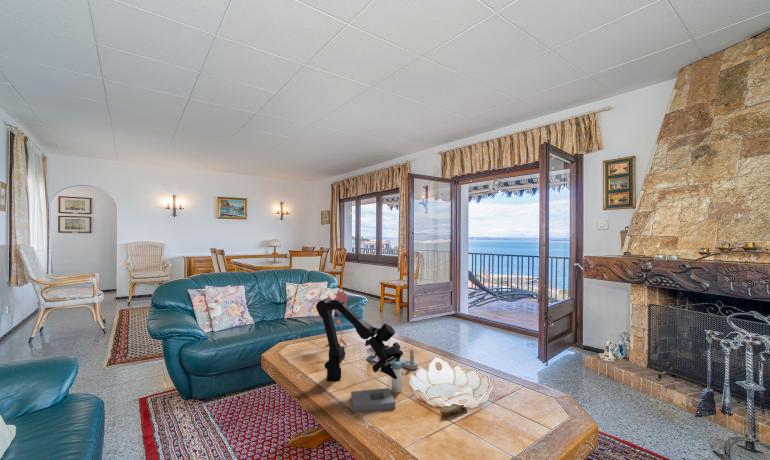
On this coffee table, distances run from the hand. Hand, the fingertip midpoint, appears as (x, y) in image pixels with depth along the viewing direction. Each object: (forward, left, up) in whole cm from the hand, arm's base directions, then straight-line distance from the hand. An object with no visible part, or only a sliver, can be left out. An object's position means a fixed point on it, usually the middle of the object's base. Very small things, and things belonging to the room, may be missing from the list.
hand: (399, 376), depth 158 cm
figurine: (-22, +71, -7) cm, 74 cm away
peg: (-1, +1, -7) cm, 7 cm away
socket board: (-13, -8, -7) cm, 17 cm away
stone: (+17, -22, -7) cm, 28 cm away
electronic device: (+11, +29, -7) cm, 32 cm away
